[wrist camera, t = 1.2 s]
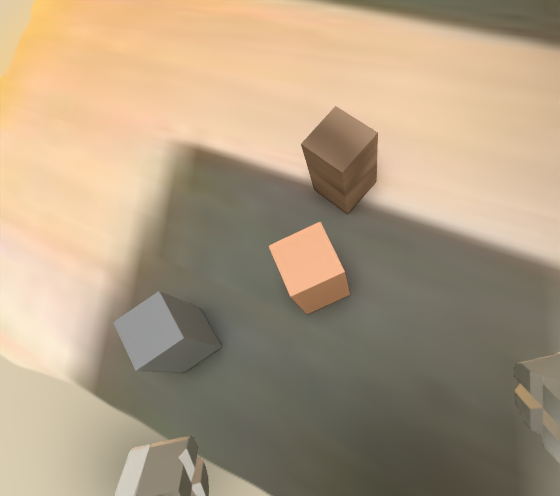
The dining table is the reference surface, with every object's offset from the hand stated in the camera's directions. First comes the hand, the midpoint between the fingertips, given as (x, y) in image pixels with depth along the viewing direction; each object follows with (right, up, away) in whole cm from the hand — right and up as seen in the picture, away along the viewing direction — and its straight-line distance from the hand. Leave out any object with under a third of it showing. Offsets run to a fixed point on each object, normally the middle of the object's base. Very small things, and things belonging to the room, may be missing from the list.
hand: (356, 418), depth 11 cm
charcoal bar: (-11, -5, +31) cm, 33 cm away
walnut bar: (+5, +11, +33) cm, 35 cm away
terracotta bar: (+2, +1, +30) cm, 31 cm away
